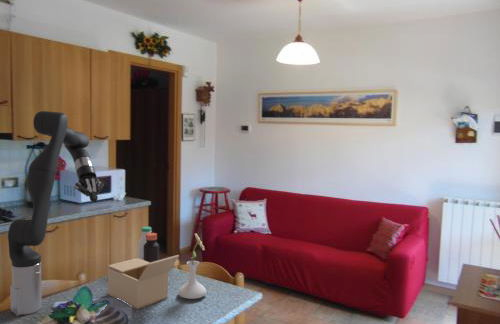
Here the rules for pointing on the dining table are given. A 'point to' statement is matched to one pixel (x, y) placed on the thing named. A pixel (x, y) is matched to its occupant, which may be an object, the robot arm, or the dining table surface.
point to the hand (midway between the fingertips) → (94, 200)
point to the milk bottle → (143, 241)
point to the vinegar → (151, 248)
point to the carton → (137, 287)
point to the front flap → (158, 267)
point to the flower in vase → (193, 279)
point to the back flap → (129, 265)
